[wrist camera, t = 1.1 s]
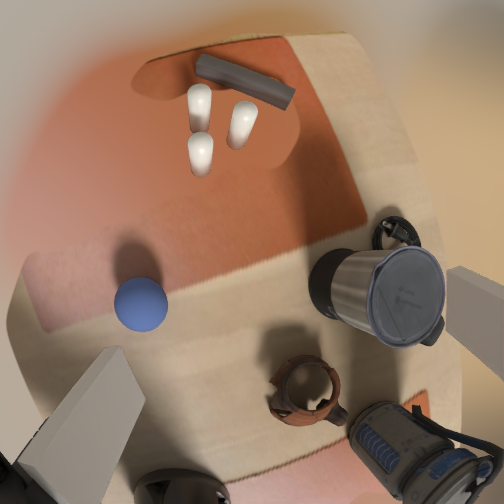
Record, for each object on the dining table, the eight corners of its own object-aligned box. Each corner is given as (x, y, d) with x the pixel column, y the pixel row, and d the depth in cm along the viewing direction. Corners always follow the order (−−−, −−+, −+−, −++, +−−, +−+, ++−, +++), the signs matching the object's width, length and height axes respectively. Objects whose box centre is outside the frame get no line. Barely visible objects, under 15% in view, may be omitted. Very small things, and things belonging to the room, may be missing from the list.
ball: (160, 332, 34) (153, 347, 28) (116, 312, 33) (100, 323, 27) (178, 286, 34) (172, 293, 28) (132, 267, 33) (118, 269, 27)
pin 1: (204, 137, 35) (205, 106, 26) (186, 131, 34) (183, 98, 26) (212, 122, 35) (215, 88, 27) (195, 115, 35) (194, 80, 26)
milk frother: (297, 308, 37) (352, 339, 22) (333, 190, 37) (400, 158, 23) (384, 332, 39) (456, 361, 24) (413, 228, 40) (489, 220, 25)
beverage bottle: (415, 389, 40) (526, 452, 15) (377, 454, 39) (462, 537, 14) (373, 378, 38) (497, 460, 14) (332, 450, 37) (415, 557, 13)
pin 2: (241, 152, 35) (252, 125, 27) (223, 145, 35) (229, 115, 27) (248, 136, 36) (261, 106, 27) (231, 129, 35) (239, 97, 27)
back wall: (284, 110, 36) (290, 100, 33) (195, 75, 35) (195, 63, 32) (289, 99, 37) (295, 89, 34) (202, 65, 35) (202, 53, 32)
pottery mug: (246, 406, 36) (259, 404, 29) (279, 350, 41) (298, 334, 34) (320, 443, 34) (348, 447, 28) (348, 387, 39) (377, 378, 33)
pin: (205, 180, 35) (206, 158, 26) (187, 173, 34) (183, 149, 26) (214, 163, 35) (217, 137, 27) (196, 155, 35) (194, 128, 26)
